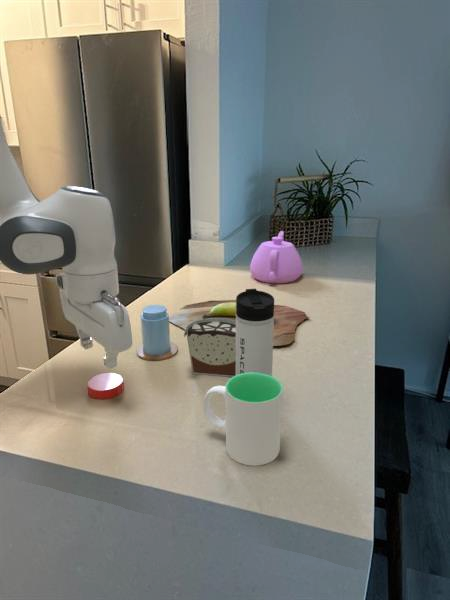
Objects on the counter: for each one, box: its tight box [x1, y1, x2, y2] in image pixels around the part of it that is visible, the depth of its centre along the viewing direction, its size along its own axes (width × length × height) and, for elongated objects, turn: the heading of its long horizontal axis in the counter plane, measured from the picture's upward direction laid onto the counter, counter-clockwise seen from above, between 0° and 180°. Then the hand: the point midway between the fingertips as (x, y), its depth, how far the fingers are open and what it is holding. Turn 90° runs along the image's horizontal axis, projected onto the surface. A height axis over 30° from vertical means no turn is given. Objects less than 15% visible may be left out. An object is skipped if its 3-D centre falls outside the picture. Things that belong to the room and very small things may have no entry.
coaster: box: [136, 341, 179, 362], centre depth 95 cm, size 9×9×1 cm
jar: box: [140, 304, 171, 355], centre depth 93 cm, size 6×6×10 cm
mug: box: [203, 372, 283, 467], centre depth 64 cm, size 12×8×10 cm, turn 67°
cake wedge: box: [183, 318, 236, 378], centre depth 86 cm, size 12×6×10 cm, turn 80°
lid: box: [87, 372, 125, 400], centre depth 80 cm, size 6×6×2 cm
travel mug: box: [235, 288, 275, 377], centre depth 73 cm, size 6×7×20 cm
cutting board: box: [169, 299, 311, 347], centre depth 110 cm, size 35×27×4 cm
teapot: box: [249, 230, 304, 284], centre depth 145 cm, size 25×18×14 cm
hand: (98, 356), depth 78 cm, fingers open, 8 cm apart
